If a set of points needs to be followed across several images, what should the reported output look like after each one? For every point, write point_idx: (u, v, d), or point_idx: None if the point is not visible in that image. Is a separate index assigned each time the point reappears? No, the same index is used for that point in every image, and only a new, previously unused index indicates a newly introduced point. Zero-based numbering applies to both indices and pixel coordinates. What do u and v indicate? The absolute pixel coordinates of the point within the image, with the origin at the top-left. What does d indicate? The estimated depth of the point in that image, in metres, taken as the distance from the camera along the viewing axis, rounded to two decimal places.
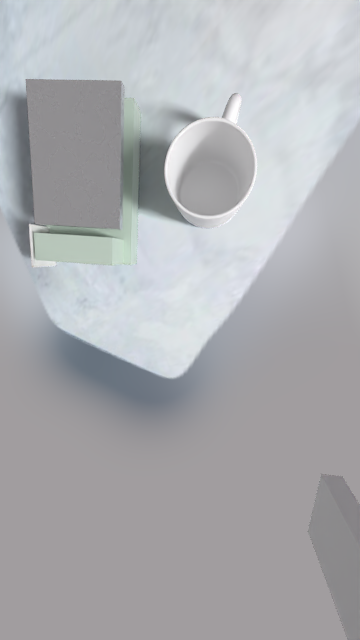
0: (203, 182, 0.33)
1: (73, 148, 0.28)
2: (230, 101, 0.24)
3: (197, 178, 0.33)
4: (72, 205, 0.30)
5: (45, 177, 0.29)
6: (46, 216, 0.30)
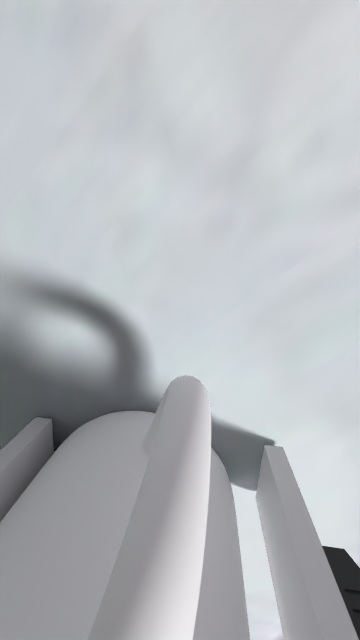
0: None
1: None
2: None
3: None
4: None
5: None
6: None
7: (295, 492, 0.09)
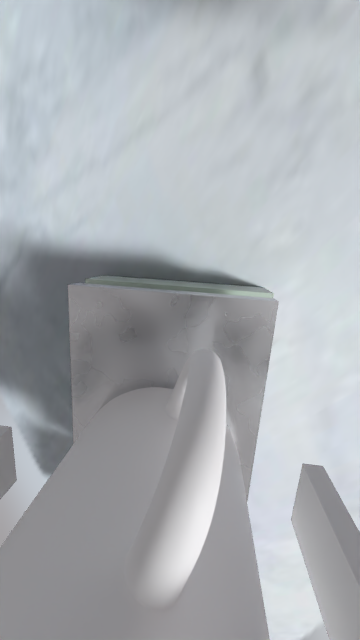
0: None
1: None
2: (166, 518, 0.05)
3: None
4: None
5: None
6: None
7: (347, 521, 0.08)
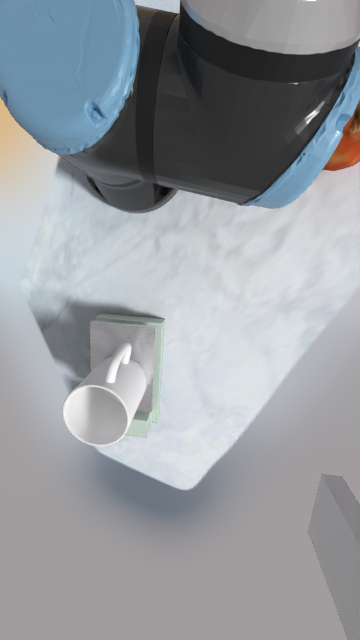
0: None
1: None
2: (109, 366, 0.32)
3: None
4: None
5: None
6: None
7: None
